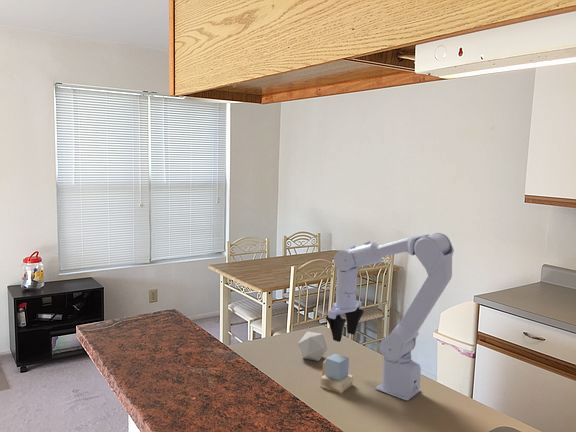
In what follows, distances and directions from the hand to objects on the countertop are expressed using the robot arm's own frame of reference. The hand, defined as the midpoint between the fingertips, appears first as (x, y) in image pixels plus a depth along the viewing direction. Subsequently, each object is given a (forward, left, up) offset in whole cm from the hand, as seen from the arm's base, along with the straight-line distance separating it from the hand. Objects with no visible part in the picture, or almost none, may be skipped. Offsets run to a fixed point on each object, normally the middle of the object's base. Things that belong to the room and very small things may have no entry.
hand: (344, 337), depth 139 cm
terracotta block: (+2, +3, -11) cm, 11 cm away
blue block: (-3, +8, -8) cm, 12 cm away
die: (+12, -2, -11) cm, 17 cm away
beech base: (-4, +8, -11) cm, 14 cm away
